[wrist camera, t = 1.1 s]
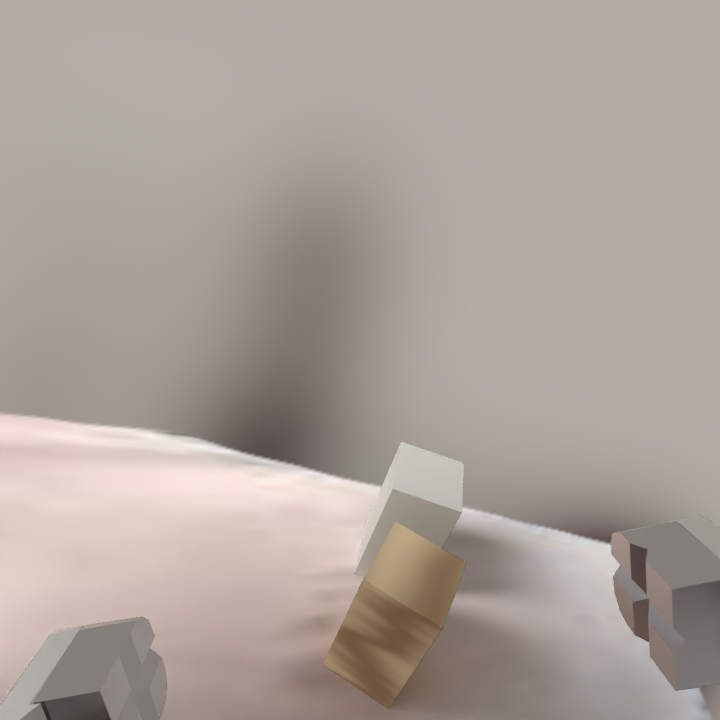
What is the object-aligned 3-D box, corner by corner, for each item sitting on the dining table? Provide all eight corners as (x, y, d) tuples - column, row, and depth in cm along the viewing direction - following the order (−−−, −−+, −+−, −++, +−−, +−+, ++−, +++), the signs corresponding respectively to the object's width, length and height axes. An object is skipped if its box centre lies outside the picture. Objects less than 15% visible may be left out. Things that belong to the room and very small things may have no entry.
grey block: (354, 573, 42) (392, 488, 37) (365, 524, 47) (401, 441, 41) (414, 594, 42) (461, 512, 37) (420, 543, 47) (463, 463, 41)
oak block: (322, 664, 36) (363, 579, 31) (355, 606, 40) (395, 521, 35) (388, 708, 35) (442, 628, 30) (414, 644, 39) (466, 562, 34)
